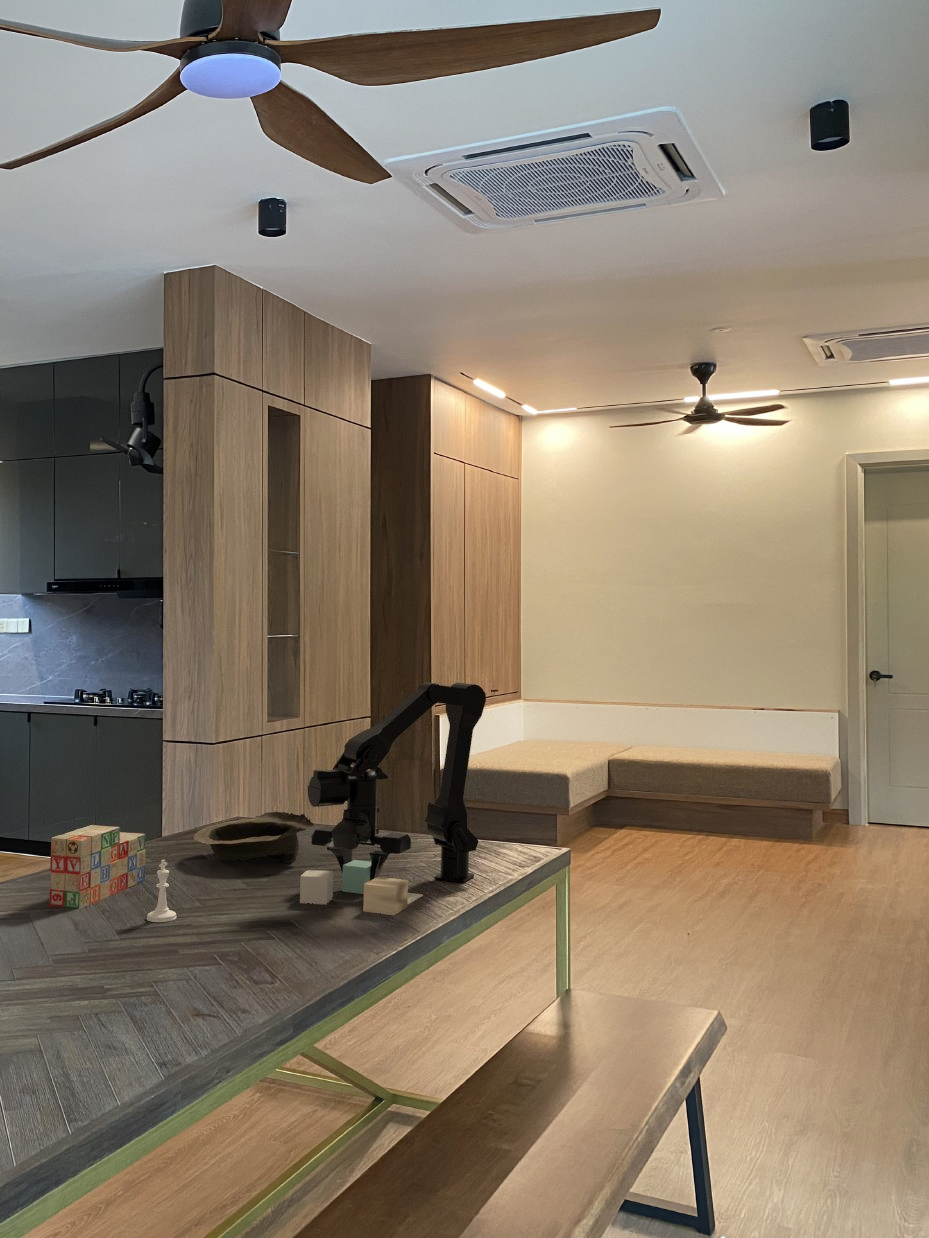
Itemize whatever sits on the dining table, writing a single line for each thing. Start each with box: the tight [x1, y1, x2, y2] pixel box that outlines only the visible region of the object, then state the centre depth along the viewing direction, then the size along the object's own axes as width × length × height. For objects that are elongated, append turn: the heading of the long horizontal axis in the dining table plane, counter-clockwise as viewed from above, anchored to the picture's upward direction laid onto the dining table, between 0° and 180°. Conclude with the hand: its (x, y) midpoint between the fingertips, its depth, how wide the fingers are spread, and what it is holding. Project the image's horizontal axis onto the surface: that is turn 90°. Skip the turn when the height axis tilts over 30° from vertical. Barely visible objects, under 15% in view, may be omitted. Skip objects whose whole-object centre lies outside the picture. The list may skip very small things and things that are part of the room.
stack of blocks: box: [49, 824, 147, 909], centre depth 198 cm, size 21×6×12 cm, turn 165°
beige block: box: [299, 869, 334, 905], centre depth 197 cm, size 5×5×5 cm
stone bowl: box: [193, 811, 315, 864], centre depth 228 cm, size 25×25×9 cm
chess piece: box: [146, 859, 177, 923], centre depth 182 cm, size 5×5×10 cm
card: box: [407, 892, 424, 905], centre depth 200 cm, size 7×7×1 cm
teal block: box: [341, 859, 371, 895], centre depth 205 cm, size 5×5×5 cm
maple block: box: [362, 876, 409, 916], centre depth 192 cm, size 6×6×5 cm
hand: (359, 884), depth 205 cm, fingers closed on teal block, 5 cm apart
